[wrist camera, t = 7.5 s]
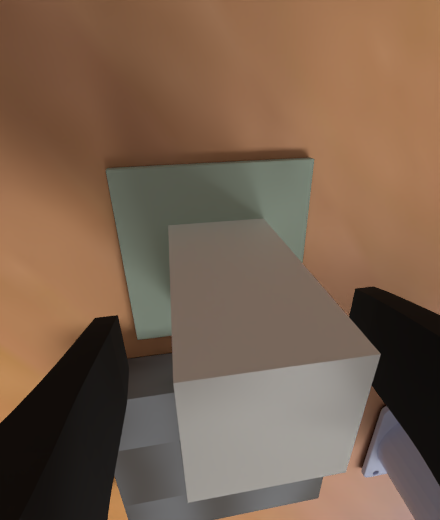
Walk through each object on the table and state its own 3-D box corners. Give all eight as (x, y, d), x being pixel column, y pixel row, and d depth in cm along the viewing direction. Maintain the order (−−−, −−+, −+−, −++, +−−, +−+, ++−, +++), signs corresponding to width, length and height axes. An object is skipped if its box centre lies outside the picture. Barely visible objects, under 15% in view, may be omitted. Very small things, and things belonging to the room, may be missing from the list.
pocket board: (325, 332, 17) (348, 366, 15) (303, 459, 23) (318, 498, 20) (102, 362, 16) (91, 404, 13) (136, 490, 21) (133, 536, 19)
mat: (310, 157, 13) (314, 159, 12) (293, 315, 16) (296, 320, 16) (107, 168, 12) (105, 170, 11) (138, 334, 15) (137, 339, 15)
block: (263, 218, 13) (380, 353, 6) (259, 297, 15) (345, 472, 8) (168, 225, 12) (173, 382, 5) (176, 306, 14) (187, 502, 7)
